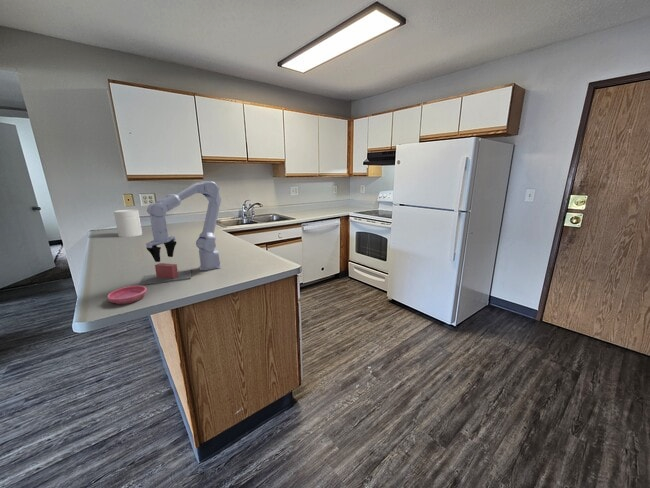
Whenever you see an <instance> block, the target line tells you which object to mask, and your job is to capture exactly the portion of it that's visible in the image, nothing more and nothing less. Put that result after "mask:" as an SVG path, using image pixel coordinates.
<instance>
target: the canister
mask: <svg viewBox="0 0 650 488" xmlns="http://www.w3.org/2000/svg"><path fill="white" fill-rule="evenodd" d="M113 216H114V220H115V225H116V230H117V235H118V237H119V238H130V237H131V238H132V237H137V236H139V237H140V236H142V235H143V229H142V225H141V219H140V211H139V209H118V210H114V211H113Z"/></svg>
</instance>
